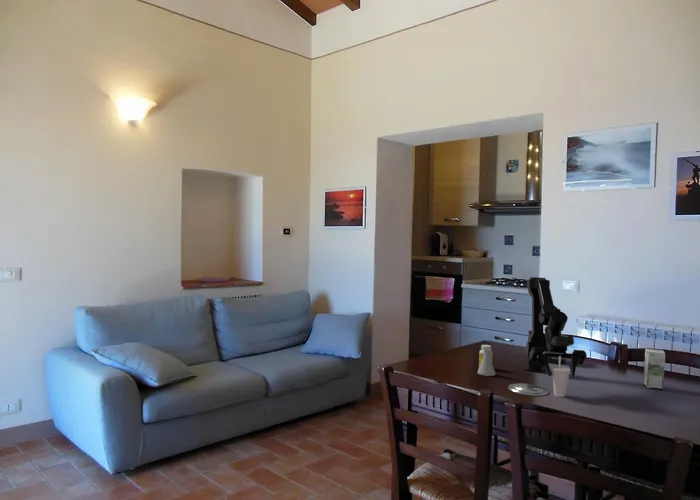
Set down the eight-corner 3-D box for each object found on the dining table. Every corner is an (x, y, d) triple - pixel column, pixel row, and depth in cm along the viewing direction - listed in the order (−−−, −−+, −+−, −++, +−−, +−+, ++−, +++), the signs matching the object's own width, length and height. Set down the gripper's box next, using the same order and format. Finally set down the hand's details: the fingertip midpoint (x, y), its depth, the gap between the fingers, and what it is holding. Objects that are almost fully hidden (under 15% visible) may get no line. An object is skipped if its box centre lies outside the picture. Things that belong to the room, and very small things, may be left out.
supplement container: (544, 357, 243) (546, 332, 243) (568, 361, 237) (569, 335, 237) (538, 361, 235) (539, 335, 234) (562, 365, 228) (564, 338, 228)
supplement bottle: (491, 370, 214) (492, 347, 214) (477, 368, 216) (479, 346, 216) (492, 367, 219) (493, 345, 219) (479, 366, 221) (480, 343, 221)
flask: (496, 377, 204) (497, 352, 204) (477, 375, 205) (478, 350, 205) (494, 372, 211) (495, 348, 211) (476, 371, 212) (477, 347, 212)
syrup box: (659, 386, 200) (661, 349, 199) (663, 390, 194) (665, 352, 194) (643, 384, 202) (645, 347, 201) (646, 388, 196) (648, 350, 196)
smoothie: (546, 392, 186) (548, 354, 185) (563, 392, 186) (565, 354, 186) (555, 398, 179) (557, 358, 179) (572, 398, 180) (574, 358, 179)
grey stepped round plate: (521, 382, 197) (521, 379, 197) (555, 391, 187) (555, 389, 187) (500, 388, 188) (500, 385, 188) (535, 398, 178) (535, 395, 178)
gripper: (533, 325, 187) (539, 362, 176) (586, 328, 185) (596, 366, 174) (526, 342, 195) (532, 379, 184) (578, 345, 193) (586, 382, 182)
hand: (561, 376), depth 181 cm, fingers open, 8 cm apart
